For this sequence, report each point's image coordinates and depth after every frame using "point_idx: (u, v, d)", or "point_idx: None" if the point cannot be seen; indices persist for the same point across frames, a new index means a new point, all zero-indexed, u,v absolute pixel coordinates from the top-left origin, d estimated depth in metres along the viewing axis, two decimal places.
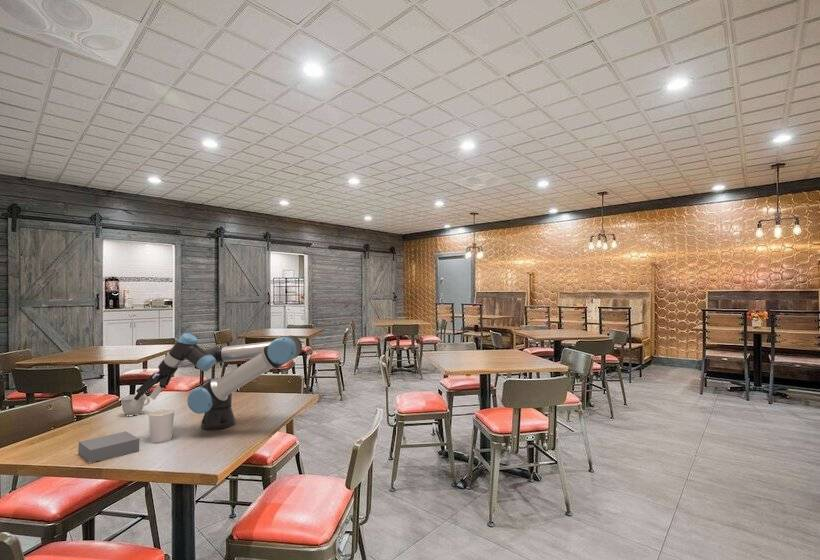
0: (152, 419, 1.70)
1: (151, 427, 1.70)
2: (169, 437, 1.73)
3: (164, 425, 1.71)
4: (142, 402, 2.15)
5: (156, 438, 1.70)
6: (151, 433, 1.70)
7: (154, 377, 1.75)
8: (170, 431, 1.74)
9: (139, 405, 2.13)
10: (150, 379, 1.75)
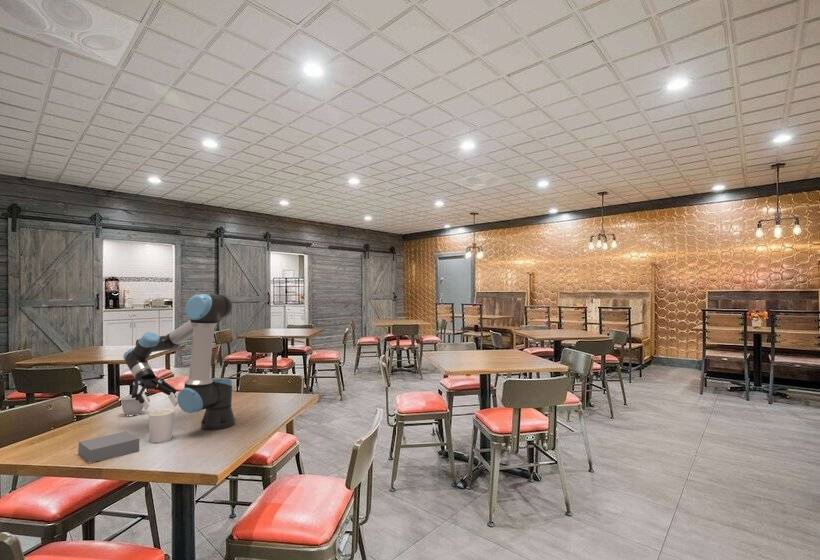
0: (152, 419, 1.70)
1: (151, 427, 1.70)
2: (169, 437, 1.73)
3: (164, 425, 1.71)
4: None
5: (156, 438, 1.70)
6: (151, 433, 1.70)
7: (134, 382, 1.80)
8: (170, 431, 1.74)
9: (139, 405, 2.13)
10: (133, 386, 1.79)
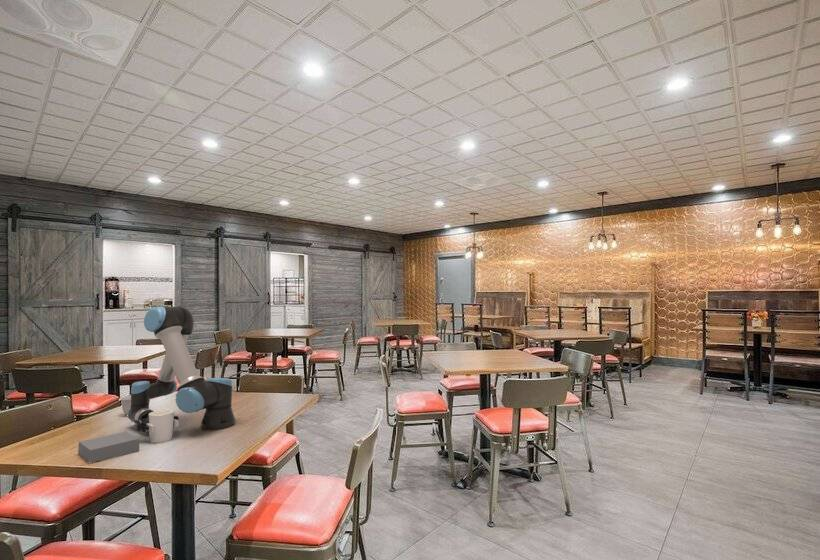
0: (152, 419, 1.70)
1: None
2: (169, 437, 1.73)
3: (164, 425, 1.71)
4: None
5: (156, 438, 1.70)
6: (151, 433, 1.70)
7: (135, 422, 1.76)
8: (170, 431, 1.74)
9: None
10: (136, 425, 1.75)
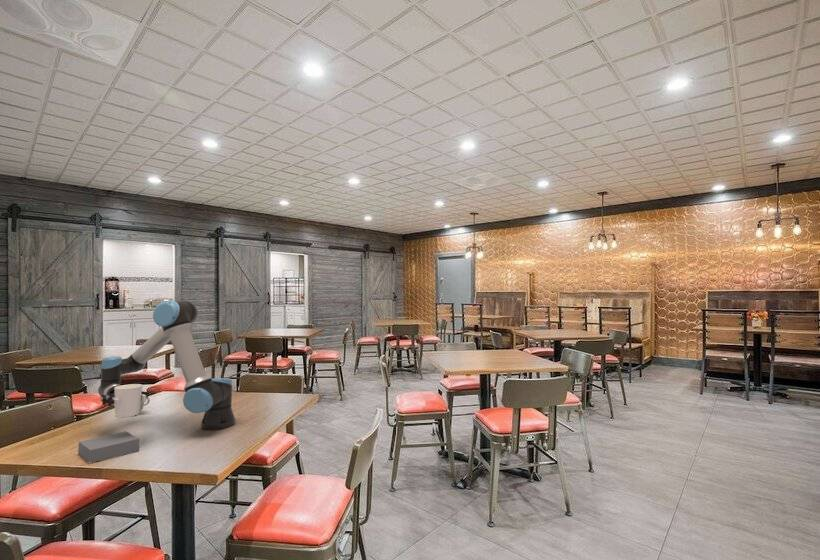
0: (117, 393, 1.62)
1: None
2: (135, 412, 1.65)
3: (130, 400, 1.63)
4: (142, 402, 2.15)
5: (121, 413, 1.62)
6: (116, 407, 1.62)
7: (101, 397, 1.68)
8: (137, 406, 1.66)
9: None
10: (102, 399, 1.67)
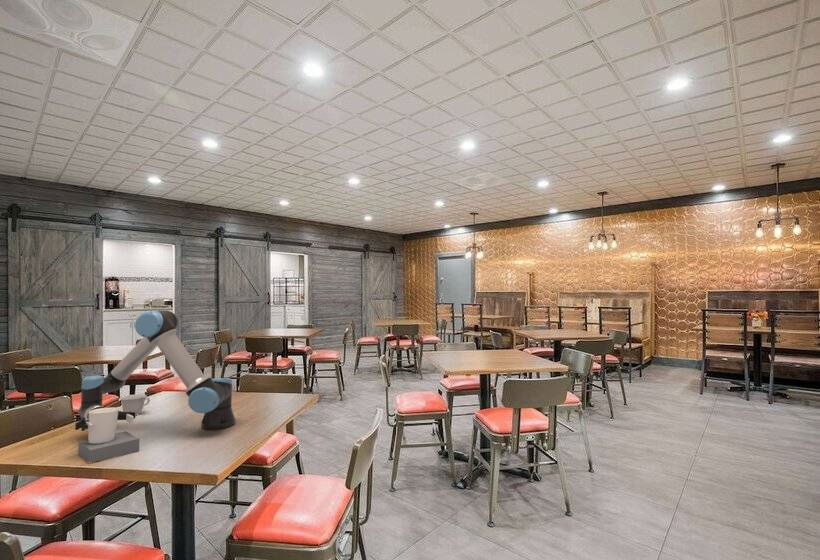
0: (91, 417, 1.54)
1: None
2: (110, 438, 1.57)
3: (104, 425, 1.55)
4: (142, 402, 2.15)
5: (94, 438, 1.54)
6: (89, 433, 1.54)
7: None
8: (112, 431, 1.58)
9: (139, 405, 2.13)
10: None
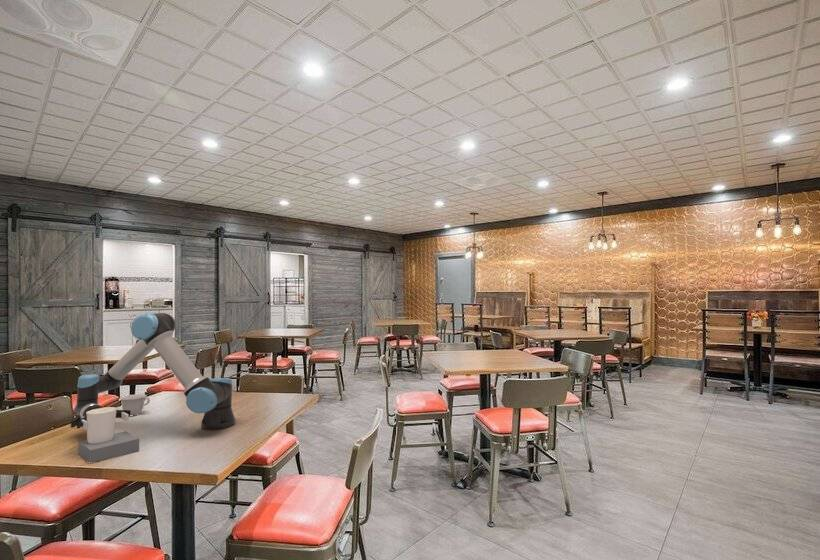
0: (87, 417, 1.55)
1: None
2: (106, 438, 1.57)
3: (99, 425, 1.55)
4: (142, 402, 2.15)
5: (91, 439, 1.55)
6: (87, 433, 1.56)
7: None
8: (108, 432, 1.57)
9: (139, 405, 2.13)
10: None
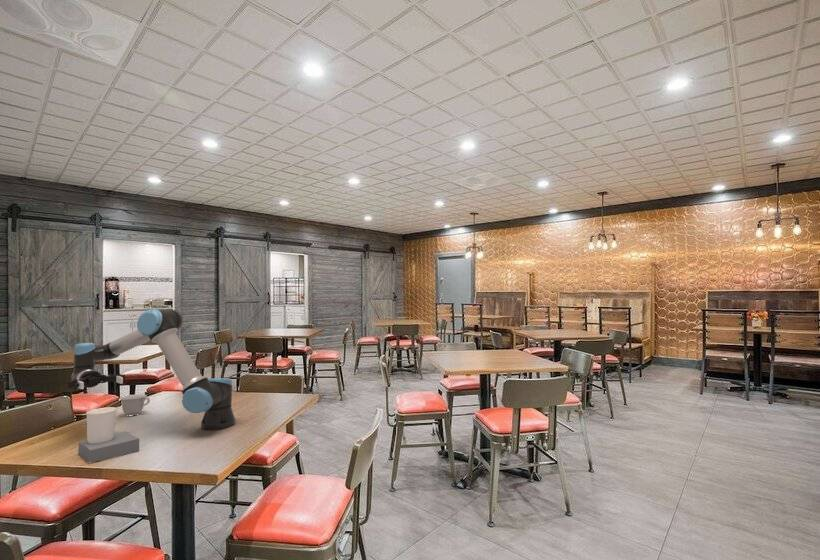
0: (87, 417, 1.55)
1: (87, 426, 1.56)
2: (106, 438, 1.57)
3: (99, 425, 1.55)
4: (142, 402, 2.15)
5: (91, 439, 1.55)
6: (87, 433, 1.56)
7: None
8: (108, 432, 1.57)
9: (139, 405, 2.13)
10: None
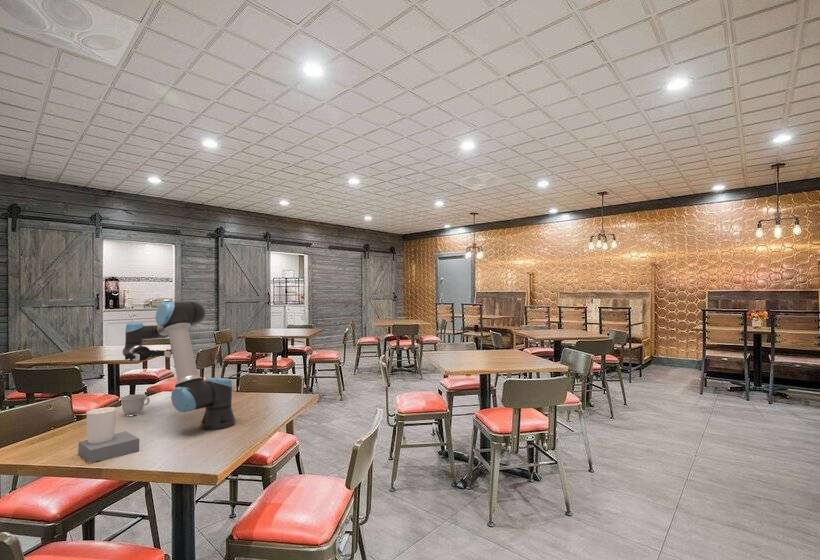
0: (87, 417, 1.55)
1: (87, 426, 1.56)
2: (106, 438, 1.57)
3: (99, 425, 1.55)
4: (142, 402, 2.15)
5: (91, 439, 1.55)
6: (87, 433, 1.56)
7: None
8: (108, 432, 1.57)
9: (139, 405, 2.13)
10: None
